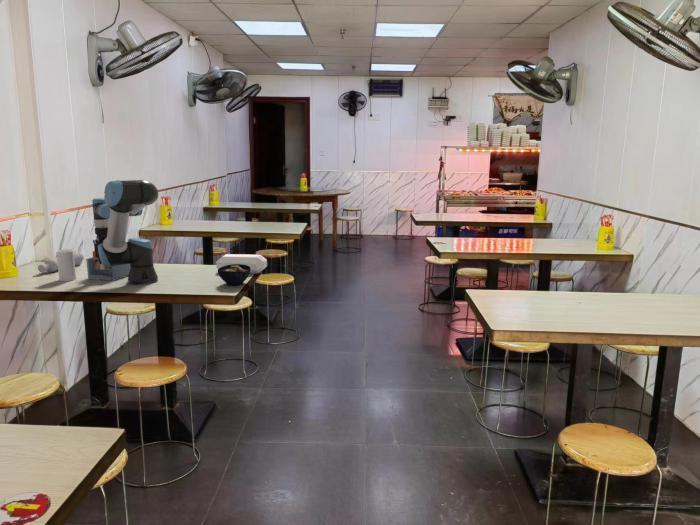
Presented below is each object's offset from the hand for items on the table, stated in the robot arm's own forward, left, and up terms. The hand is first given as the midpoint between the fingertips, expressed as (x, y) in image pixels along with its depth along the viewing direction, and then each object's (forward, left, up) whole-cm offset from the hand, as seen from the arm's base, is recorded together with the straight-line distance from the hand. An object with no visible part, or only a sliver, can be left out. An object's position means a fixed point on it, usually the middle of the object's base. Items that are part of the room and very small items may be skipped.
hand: (105, 268), depth 299 cm
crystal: (-65, -35, -5) cm, 74 cm away
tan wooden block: (0, 0, 0) cm, 0 cm away
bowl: (-75, -7, -5) cm, 76 cm away
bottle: (+40, -10, -6) cm, 42 cm away
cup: (+17, +10, -5) cm, 20 cm away
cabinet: (0, -3, -5) cm, 6 cm away
